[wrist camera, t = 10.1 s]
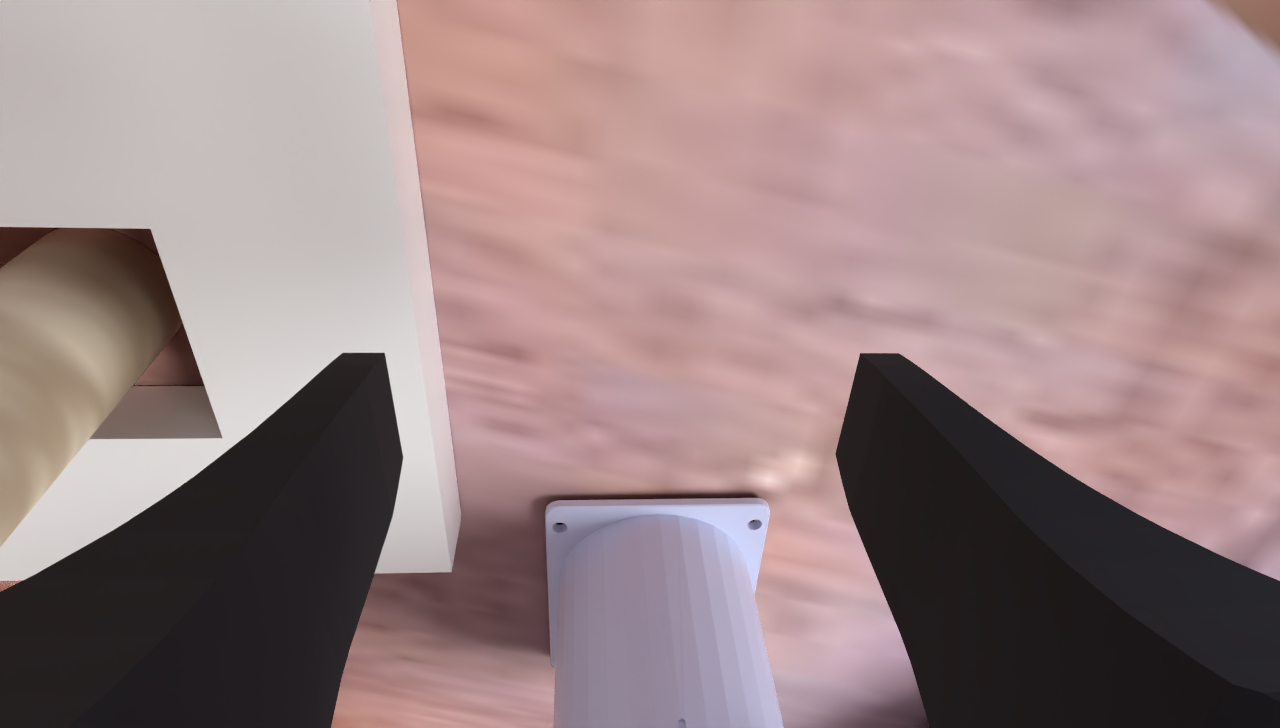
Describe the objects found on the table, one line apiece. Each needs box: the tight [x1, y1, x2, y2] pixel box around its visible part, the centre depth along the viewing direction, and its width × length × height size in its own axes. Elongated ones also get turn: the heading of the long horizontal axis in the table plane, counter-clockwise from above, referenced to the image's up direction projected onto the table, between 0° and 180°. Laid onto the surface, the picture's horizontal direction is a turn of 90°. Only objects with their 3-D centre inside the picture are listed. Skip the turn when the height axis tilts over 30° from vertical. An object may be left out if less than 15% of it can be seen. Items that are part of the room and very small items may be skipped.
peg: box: [0, 228, 182, 547], centre depth 18 cm, size 4×4×9 cm
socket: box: [0, 0, 461, 581], centre depth 21 cm, size 18×18×2 cm
